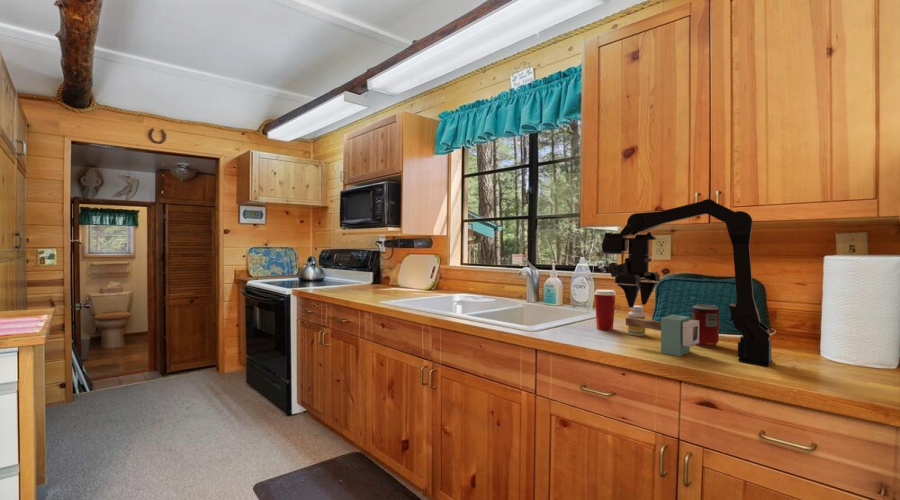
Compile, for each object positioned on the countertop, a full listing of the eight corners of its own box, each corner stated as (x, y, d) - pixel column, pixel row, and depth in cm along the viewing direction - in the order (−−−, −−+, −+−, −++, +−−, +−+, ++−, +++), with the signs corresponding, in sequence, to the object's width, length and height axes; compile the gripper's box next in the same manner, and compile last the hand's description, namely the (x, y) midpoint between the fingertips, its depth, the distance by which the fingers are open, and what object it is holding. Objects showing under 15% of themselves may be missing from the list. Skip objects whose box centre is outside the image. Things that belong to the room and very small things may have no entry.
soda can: (724, 347, 127) (724, 306, 127) (704, 348, 126) (704, 307, 126) (705, 342, 134) (706, 303, 134) (686, 343, 133) (686, 304, 133)
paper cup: (620, 329, 153) (621, 291, 152) (603, 331, 150) (604, 292, 150) (605, 326, 160) (605, 289, 160) (589, 327, 157) (589, 289, 157)
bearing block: (689, 351, 122) (690, 316, 122) (679, 356, 117) (680, 320, 117) (671, 348, 126) (671, 314, 126) (660, 352, 120) (661, 317, 120)
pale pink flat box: (698, 343, 120) (699, 320, 120) (691, 346, 115) (691, 323, 115) (690, 341, 121) (690, 319, 121) (682, 345, 117) (682, 322, 117)
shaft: (695, 333, 119) (695, 325, 118) (692, 334, 117) (692, 326, 117) (628, 324, 132) (628, 317, 132) (625, 325, 131) (625, 318, 131)
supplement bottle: (646, 336, 142) (647, 307, 142) (629, 335, 143) (630, 306, 143) (642, 333, 148) (643, 305, 147) (626, 332, 149) (626, 304, 148)
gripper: (626, 253, 141) (625, 300, 141) (598, 254, 128) (597, 305, 129) (661, 254, 133) (660, 304, 133) (635, 255, 120) (634, 310, 121)
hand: (637, 305), depth 129 cm, fingers open, 9 cm apart
